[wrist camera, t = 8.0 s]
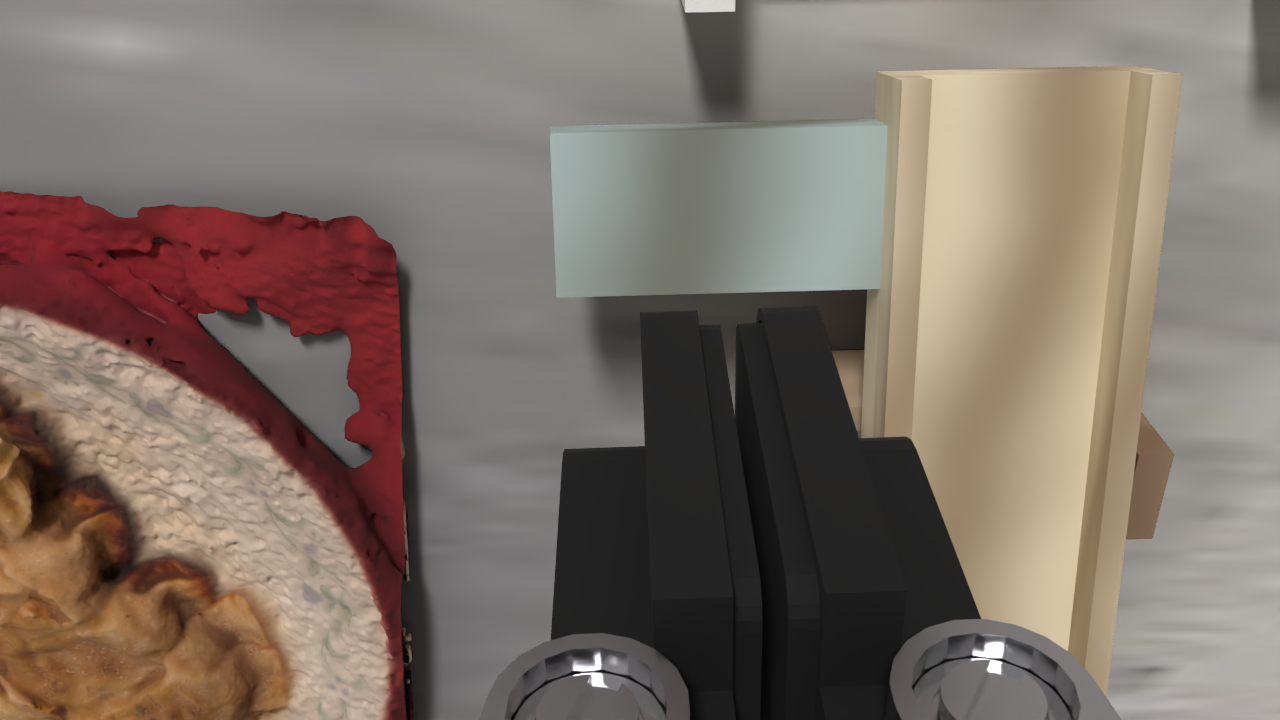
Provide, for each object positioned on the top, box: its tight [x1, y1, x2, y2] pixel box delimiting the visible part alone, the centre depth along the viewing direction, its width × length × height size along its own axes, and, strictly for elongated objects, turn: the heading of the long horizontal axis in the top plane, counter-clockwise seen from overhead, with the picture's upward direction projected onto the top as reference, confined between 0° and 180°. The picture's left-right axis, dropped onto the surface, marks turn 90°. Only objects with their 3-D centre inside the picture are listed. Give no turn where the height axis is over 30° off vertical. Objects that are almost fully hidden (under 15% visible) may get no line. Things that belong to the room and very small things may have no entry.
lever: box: [550, 66, 1183, 698], centre depth 27 cm, size 13×19×4 cm, turn 1°
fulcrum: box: [832, 350, 1174, 539], centre depth 29 cm, size 8×2×5 cm, turn 91°
